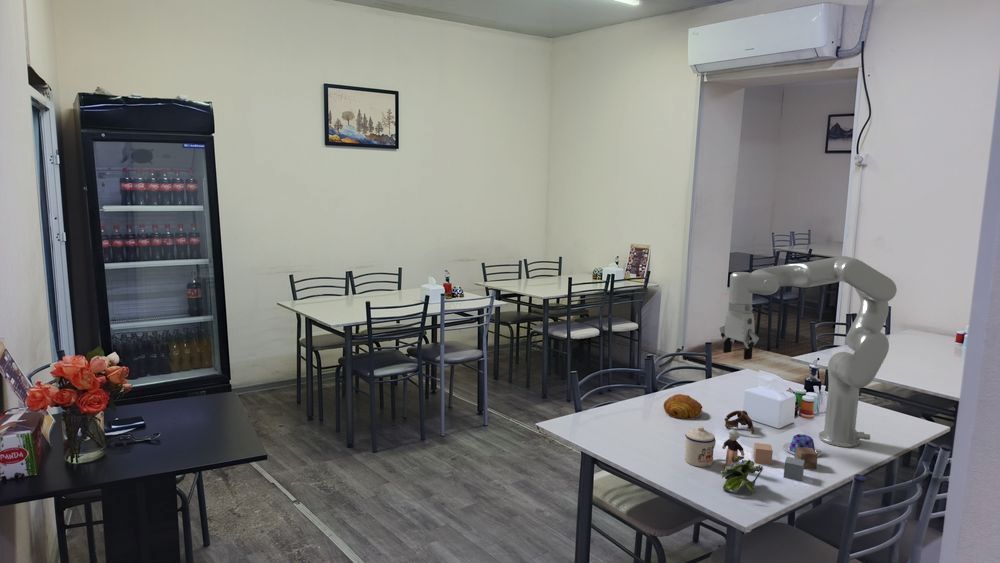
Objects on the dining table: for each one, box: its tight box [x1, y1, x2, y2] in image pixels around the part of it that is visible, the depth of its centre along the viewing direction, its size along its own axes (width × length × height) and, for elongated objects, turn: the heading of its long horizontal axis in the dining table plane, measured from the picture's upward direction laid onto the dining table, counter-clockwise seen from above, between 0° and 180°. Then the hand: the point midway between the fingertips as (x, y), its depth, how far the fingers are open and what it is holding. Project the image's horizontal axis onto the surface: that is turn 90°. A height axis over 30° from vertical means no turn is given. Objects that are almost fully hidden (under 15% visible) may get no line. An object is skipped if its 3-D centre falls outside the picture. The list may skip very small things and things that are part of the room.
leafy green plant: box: [720, 455, 764, 495], centre depth 187 cm, size 11×11×12 cm
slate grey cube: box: [783, 456, 805, 482], centre depth 196 cm, size 5×5×5 cm
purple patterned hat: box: [782, 433, 823, 457], centre depth 216 cm, size 12×12×5 cm
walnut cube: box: [794, 447, 819, 470], centre depth 204 cm, size 5×5×5 cm
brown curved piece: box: [724, 410, 755, 435], centre depth 234 cm, size 12×10×8 cm
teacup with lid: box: [684, 425, 717, 468], centre depth 206 cm, size 12×9×12 cm
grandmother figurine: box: [721, 428, 745, 468], centre depth 201 cm, size 8×4×13 cm, turn 47°
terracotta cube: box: [752, 442, 774, 466], centre depth 207 cm, size 5×5×5 cm
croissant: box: [663, 393, 703, 420], centre depth 250 cm, size 14×16×8 cm
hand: (737, 355), depth 224 cm, fingers open, 9 cm apart
